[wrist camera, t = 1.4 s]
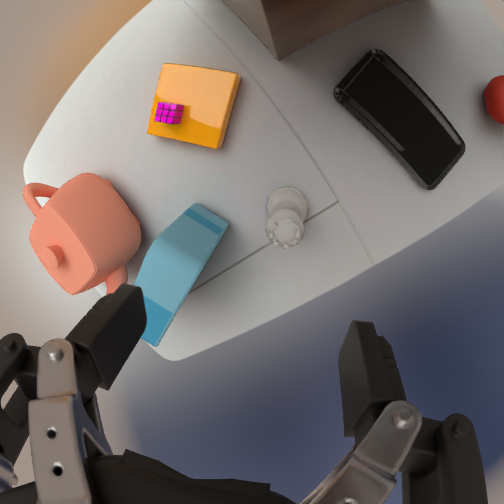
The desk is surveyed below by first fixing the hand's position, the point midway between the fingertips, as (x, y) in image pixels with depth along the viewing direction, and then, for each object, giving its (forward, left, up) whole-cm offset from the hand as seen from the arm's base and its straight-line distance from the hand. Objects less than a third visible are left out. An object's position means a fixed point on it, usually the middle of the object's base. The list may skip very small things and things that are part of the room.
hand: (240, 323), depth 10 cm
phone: (-13, -9, -22) cm, 27 cm away
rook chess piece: (-1, +2, -22) cm, 22 cm away
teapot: (+22, +5, -22) cm, 31 cm away
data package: (+10, +8, -22) cm, 25 cm away
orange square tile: (+9, -9, -22) cm, 25 cm away
